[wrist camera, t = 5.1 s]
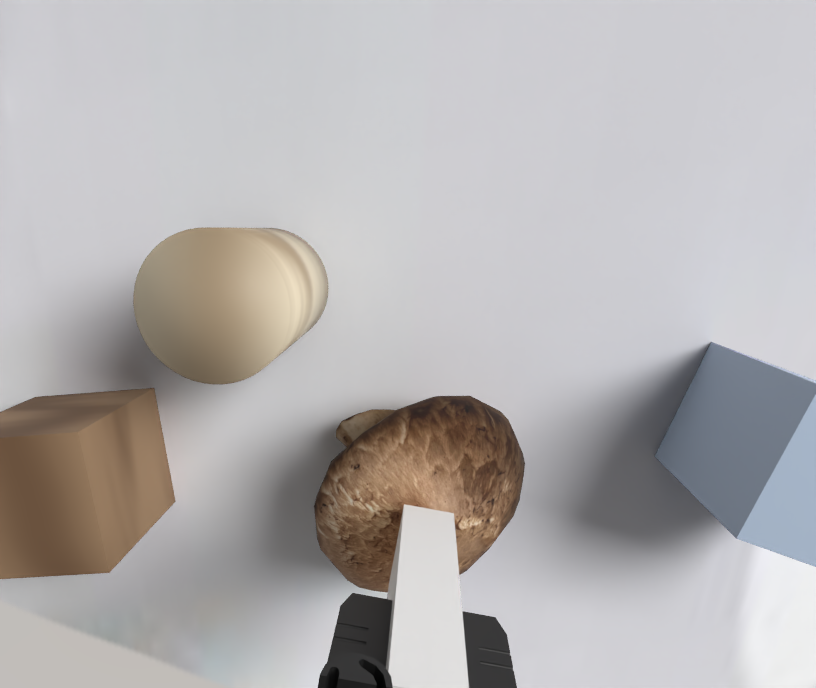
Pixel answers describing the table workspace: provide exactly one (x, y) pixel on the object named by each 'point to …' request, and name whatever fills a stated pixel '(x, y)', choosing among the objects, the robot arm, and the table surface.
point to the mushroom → (417, 482)
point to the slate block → (749, 450)
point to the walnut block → (79, 481)
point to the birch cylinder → (227, 300)
